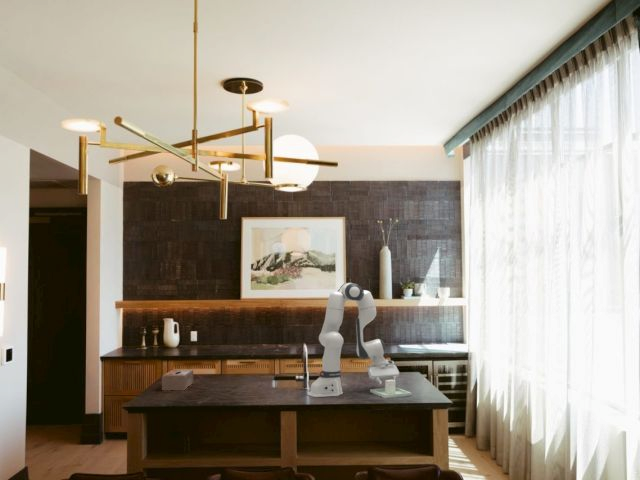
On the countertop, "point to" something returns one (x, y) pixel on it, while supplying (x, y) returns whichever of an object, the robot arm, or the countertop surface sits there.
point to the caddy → (390, 387)
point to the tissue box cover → (177, 380)
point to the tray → (398, 394)
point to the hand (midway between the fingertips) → (387, 383)
